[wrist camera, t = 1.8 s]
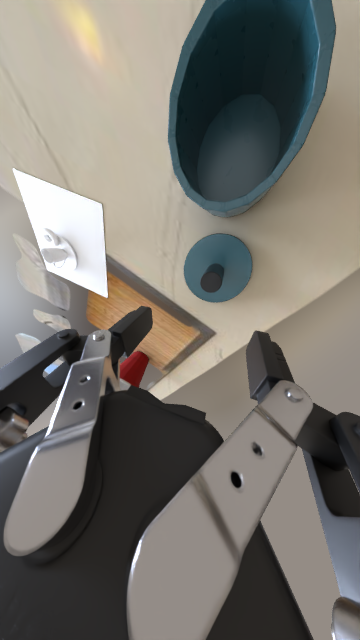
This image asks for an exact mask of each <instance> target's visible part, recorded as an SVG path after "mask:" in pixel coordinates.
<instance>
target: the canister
mask: <svg viewBox="0 0 360 640" xmlns="http://www.w3.org/2000/svg"><path fill="white" fill-rule="evenodd" d="M335 30H336V24H335V18H334V12H333V6H332V0H206V1H205V3H204V5H203V7H202V9H201V11H200V13H199V15H198V17H197V19H196V20H195V22H194V24H193V26H192V28H191V30H190V32H189V34H188V36H187V38H186V40H185V42H184V45H183V46H182V50H181V54H180V58H179V62H178V66H177V69H176V73H175V77H174V81H173V85H172V89H171V93H170V103H169V124H168V143H169V148H170V154H171V159H172V164H173V169H174V173H175V175H176V177H177V179H178V181H179V183H180V185H181V186H182V188H183V190H184V192H185V194H186V195H187V197H189V198H190V199H191V200H193V201H194V202H195V203H197V204H198V205H199V206H200V207H202V208H203V209H205V210H206V211H208V212H209V213H211V214H212V215H214V216H220V217H231V216H235V215H238V214H241V213H244V212H245V211H247V210H248V209H249V208H251V207H252V206H253V205H254V204H256V203H257V202H258V201H259V200H261V199H262V197H263V196H264V195H265V194H266V193H267V192H268V191H269V190H270V188H271V187H272V186H273V185H274V184H275V183H276V182H277V180H278V179H279V178H280V176H281V175H282V174H283V172H284V171H285V170H286V168H287V167H288V165H289V164H290V163H291V161H292V160H293V159H294V157H295V156H296V155H297V153H298V152H299V150H300V149H301V148H302V146H303V144H304V142H305V140H306V138H307V135H308V133H309V131H310V128H311V126H312V124H313V121H314V119H315V117H316V114H317V112H318V110H319V107H320V105H321V103H322V100H323V98H324V96H325V92H326V88H327V82H328V76H329V70H330V64H331V59H332V53H333V47H334V41H335V35H336V31H335Z"/></svg>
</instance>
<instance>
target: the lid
mask: <svg viewBox="0 0 360 640" xmlns="http://www.w3.org/2000/svg"><path fill="white" fill-rule="evenodd" d="M251 272H252V259H251V255H250V253H249V250H248V249H247V247H246V246H245V245H244V243H243V242H242V241H240V240H239V239H238V238H236V237H234V236H232V235H228V234H213V235H210V236H207V237H205V238H203V239H201V240H200V241H198V242H197V243H196V244H195V245H194V246H193V247H192V249H191V250H190V251H189V253H188V255H187V257H186V260H185V265H184V276H185V280H186V283H187V285H188V287H189V289H190V290H191V291H192V293H193V294H194V295H196V296H197V297H198V298H200V299H202V300H205V301H208V302H223V301H227V300H230V299H232V298H234V297H235V296H237V295H238V294H239V293H240V292H241V291H242V290H243V289H244V288H245V286H246V285H247V283H248V281H249V279H250V276H251Z"/></svg>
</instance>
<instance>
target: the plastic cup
mask: <svg viewBox="0 0 360 640" xmlns="http://www.w3.org/2000/svg"><path fill="white" fill-rule="evenodd" d="M148 360H149V359H148V357H147V356H146V355H145V354H144V353H142V352H139V351H137V352H135V353H133V354H132V355H131V356H130V357H129V358H127V359H126V360H125V361H124V362H123V363H121V364H120V389H121V390H128V389H129V387H130V386H131V385H133V386H136V387H138V388H139V384H140V382H141V379H142V377H143V374H144V372H145V369H146V367H147V364H148Z"/></svg>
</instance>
